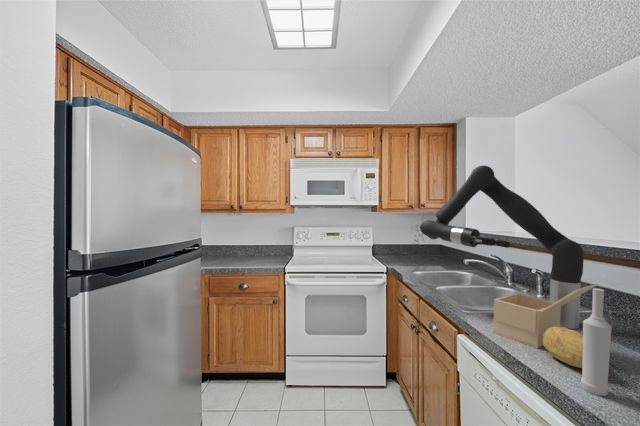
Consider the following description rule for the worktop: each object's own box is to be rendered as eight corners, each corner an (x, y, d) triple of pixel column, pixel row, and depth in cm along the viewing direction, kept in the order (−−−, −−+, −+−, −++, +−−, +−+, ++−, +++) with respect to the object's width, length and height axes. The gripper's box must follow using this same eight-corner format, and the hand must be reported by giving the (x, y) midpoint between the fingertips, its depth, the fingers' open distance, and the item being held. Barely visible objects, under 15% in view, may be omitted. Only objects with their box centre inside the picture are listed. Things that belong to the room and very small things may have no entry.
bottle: (594, 383, 78) (598, 286, 77) (614, 396, 72) (619, 292, 72) (574, 383, 77) (578, 286, 77) (593, 396, 72) (598, 292, 72)
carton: (516, 324, 118) (518, 293, 117) (560, 337, 106) (561, 303, 105) (492, 332, 109) (493, 299, 108) (536, 348, 97) (537, 311, 96)
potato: (573, 354, 94) (574, 323, 94) (608, 379, 80) (609, 344, 79) (537, 350, 96) (538, 320, 96) (564, 375, 82) (566, 340, 81)
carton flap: (596, 283, 97) (598, 284, 96) (561, 304, 105) (562, 305, 104) (577, 289, 89) (578, 290, 88) (540, 310, 97) (541, 312, 96)
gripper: (457, 227, 123) (501, 234, 109) (474, 227, 131) (518, 235, 116) (454, 245, 124) (498, 255, 109) (472, 244, 131) (515, 254, 117)
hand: (508, 244), depth 113 cm, fingers closed
